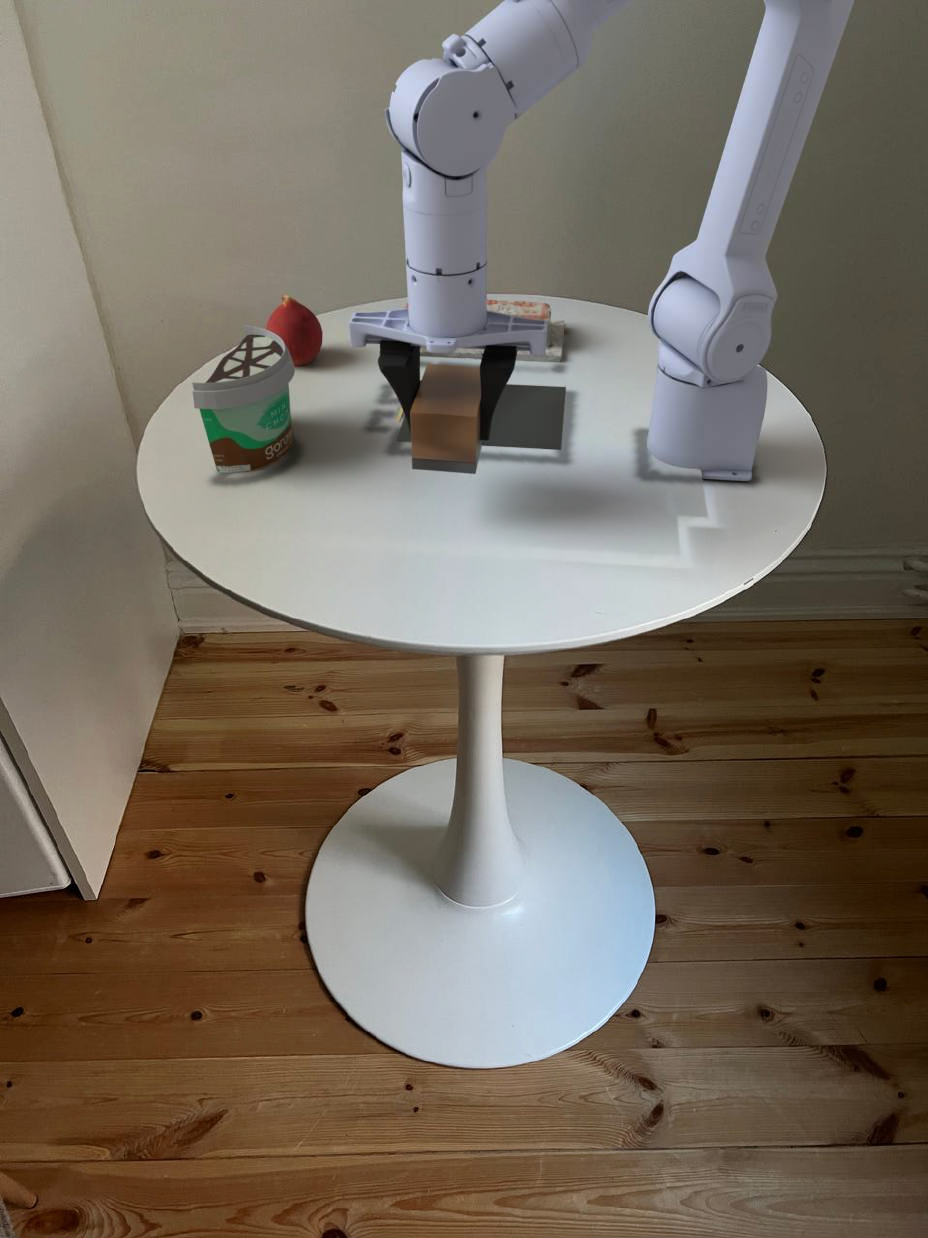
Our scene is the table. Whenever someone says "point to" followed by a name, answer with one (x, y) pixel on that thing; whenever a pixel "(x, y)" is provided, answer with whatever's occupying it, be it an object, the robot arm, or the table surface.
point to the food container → (248, 403)
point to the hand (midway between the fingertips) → (450, 432)
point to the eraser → (447, 420)
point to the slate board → (522, 418)
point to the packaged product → (521, 310)
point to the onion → (297, 330)
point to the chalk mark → (399, 415)
